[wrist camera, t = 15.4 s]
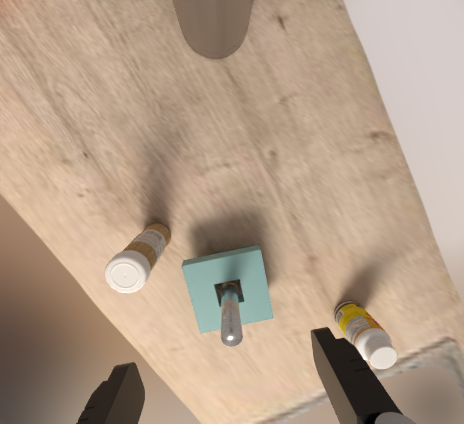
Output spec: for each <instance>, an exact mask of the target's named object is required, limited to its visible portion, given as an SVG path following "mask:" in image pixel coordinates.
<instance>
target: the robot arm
mask: <svg viewBox="0 0 464 424" xmlns="http://www.w3.org/2000/svg"><path fill="white" fill-rule="evenodd" d="M172 1H173V4H174V7H175V11H176V14H177V17H178V20H179V24H180V27H181V30H182V33H183V35H184V38H185V40H186V41H187V43H188V44H189V46H190V47H191V48H192V49H193V50H194V51H195V52H197V53H198V54H200V55H201V56H204V57H206V58H211V59H220V58H224V57H227V56H229V55H231V54H232V53H234V52H235V51H236V50H237V49H238V48H239V47H240V45H241V44H242V42H243V40H244V38H245V35H246V32H247V27H248V23H249V18H250V14H251V9H252V4H253V0H172ZM311 339H312V348H313V356H314V361H315V365H316V368H317V371H318V374H319V376H320V378H321V381H322V383H323V385H324V388H325V390H326V392H327V394H328V397H329V399H330V401H331V404H332V406H333V408H334V410H335V413H336V415H337V417H338V420H339V422H340V424H416V423H415V422H414V421H412V420H411V419H409V418H408V417H406V416H404V415H403V414H402V413H401V412H400V410H399V409H398V408H397V406H396V405H395V404H394V402H393V400H392V399H391V397H390V396H389V395H388V393H387V392H386V390H385V389H384V387H383V386H382V384H381V383H380V382H379V380H378V379H377V377H376V376H375V374H374V373H373V371H372V370H370V367H369V366H368V364H367V363H366V361H365V360H364V359H363V357H362V355H361V354H360V353H359V351H358V350H357V348H356V347H355V346H354V345H353V344H351V343H350V342H349V341H348V340H346V339H345V338H340V339H335V337H334V335H333V334H332V332H331V331H330V329H329V328H328V327H325V328H319V329H314V330H311ZM144 400H145V390H144V386H143V383H142V380H141V378H140V374H139V372H138V369H137V366H136V364H135V363H134V362H132V363H126V364H122V365H116V366H115V367H114V369H113V371H112V373H111V375H110V377H109V379H108V381H103V382H102V383H101V384H100V386H99V387H98V388H97V389H96V390H95V391H94V393H93V394H92V395H91V397H90V399H89V401H88V403H87V405H86V406H85V410H84V411H83V412H82V414H81V416H80V417H79V420H78V423H76V424H138V421H139V418H140V415H141V411H142V409H143V405H144Z"/></svg>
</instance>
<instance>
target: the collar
mask: <svg viewBox="0 0 464 424" xmlns="http://www.w3.org/2000/svg"><path fill="white" fill-rule="evenodd" d="M182 269H183V273H184V277H185V280H186V284H187V287H188V291H189V294H190V298H191V302H192V305H193V309H194V312H195V316H196V319H197V323H198V327H199V330H200V333H205V332H210V331H215V330H219V329H221V299H219V295H218V291H217V287H216V284H218V283H223V282H228V281H232V280H237V279H240V283H241V288H242V292H243V295H238V301H239V310H240V319H241V325H243V324H248V323H253V322H258V321H263V320H268V319H272V318H274V317H273V311H272V306H271V301H270V296H269V290H268V285H267V280H266V275H265V269H264V264H263V259H262V254H261V249H260V247H259V245H255V246H250V247H245V248H240V249H236V250H231V251H226V252H221V253H217V254H212V255H207V256H202V257H198V258H193V259H188V260H184V261H183V264H182Z"/></svg>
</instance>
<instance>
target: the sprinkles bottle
mask: <svg viewBox="0 0 464 424" xmlns="http://www.w3.org/2000/svg"><path fill="white" fill-rule="evenodd" d="M170 239H171V235H170V232H169V230H168V229H167V228H166V227H165V226H163V225H162V224H158V223H155V224H151V225H148V226H147V227H146V228H145V229H144V231H143V232H142V233H141V234H139V235H138V236H137V237H136V238H135V239H134V240H133V241H132V242H131V243H130V244H129V245H128V246H127V247H126V248H125V249H124V250H123V251H122V252H120V253H118V254H117V255H116V256H114V257H113V258H112V259H111V261H110V262H109V263H108V264H107V266H106V269H105V277H106V280H107V282H108V284H109V285H110V286H111V287H112V288H113V289H115V290H117V291H119V292H123V293H132V292H135V291H137V290H139V289H140V288H141V287H142V286H143V285H144V284H145V282H146V281H147V279H148V278H149V275H150V272H151V270H152V268H153V267H154V266H155V264H156V263H157V261H158V259H159V258H160V256H161V255H162V253H163V251H164V250H165V247H166V246H167V245H168V244H169V242H170Z"/></svg>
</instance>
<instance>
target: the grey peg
mask: <svg viewBox="0 0 464 424" xmlns="http://www.w3.org/2000/svg"><path fill="white" fill-rule="evenodd" d="M216 287H217V291H218V295H219V299H221V340H222V342H223V343H224V344H225V345H227V346H236V345H238V344H239V343H240V342H241V341H242V338H243V336H242V327H241V319H240V310H239V301H238V295H243V292H242V288H241V283H240V279H237V280H232V281H228V282H223V283H218V284H216Z"/></svg>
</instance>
